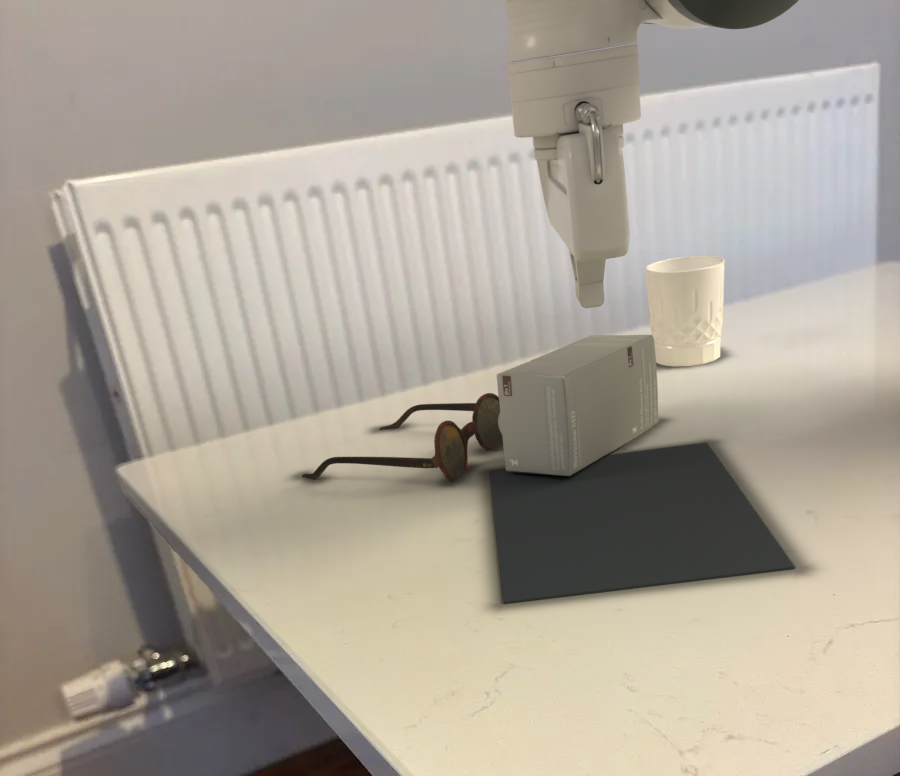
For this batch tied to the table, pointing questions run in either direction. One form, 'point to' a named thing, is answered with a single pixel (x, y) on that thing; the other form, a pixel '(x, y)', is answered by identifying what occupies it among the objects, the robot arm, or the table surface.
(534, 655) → the table surface
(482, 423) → the eyeglasses
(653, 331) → the white cup
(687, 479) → the mat
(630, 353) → the cosmetic box
